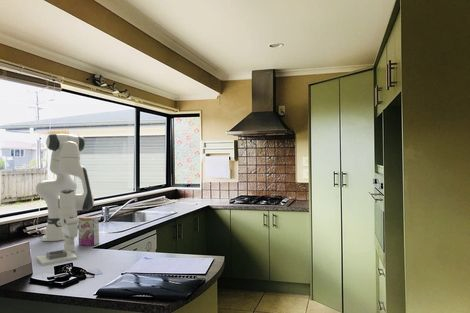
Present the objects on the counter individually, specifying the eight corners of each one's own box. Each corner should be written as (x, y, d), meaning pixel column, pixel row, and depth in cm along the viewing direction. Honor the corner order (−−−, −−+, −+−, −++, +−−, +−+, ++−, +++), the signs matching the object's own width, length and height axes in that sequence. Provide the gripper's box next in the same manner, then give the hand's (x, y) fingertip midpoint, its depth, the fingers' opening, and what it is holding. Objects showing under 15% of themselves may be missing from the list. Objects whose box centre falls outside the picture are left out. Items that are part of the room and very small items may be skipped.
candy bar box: (78, 245, 211) (77, 217, 211) (83, 243, 216) (83, 216, 216) (94, 245, 208) (93, 218, 208) (99, 243, 213) (98, 216, 213)
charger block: (63, 251, 198) (63, 236, 198) (72, 249, 201) (71, 235, 201) (65, 252, 194) (65, 238, 194) (74, 250, 197) (73, 236, 197)
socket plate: (36, 258, 183) (36, 252, 183) (69, 252, 193) (69, 247, 193) (42, 265, 171) (42, 258, 171) (77, 258, 180) (77, 252, 181)
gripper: (58, 217, 204) (58, 241, 204) (67, 221, 188) (67, 247, 188) (69, 216, 208) (70, 239, 208) (79, 219, 192) (80, 245, 192)
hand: (69, 243), depth 198 cm, fingers open, 8 cm apart
